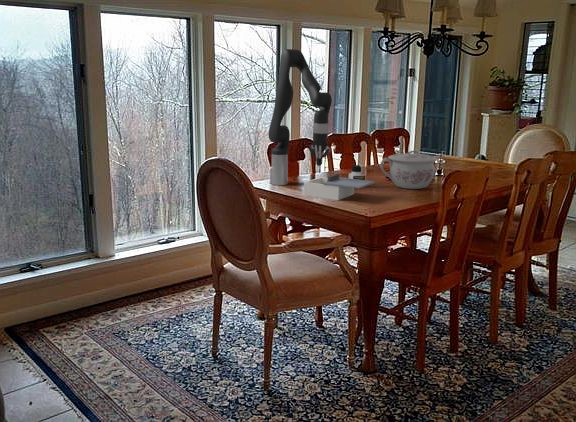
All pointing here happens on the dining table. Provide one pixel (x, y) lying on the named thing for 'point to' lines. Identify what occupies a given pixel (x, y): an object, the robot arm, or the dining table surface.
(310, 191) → the box
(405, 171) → the chamber pot
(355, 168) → the medicine bottle
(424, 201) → the dining table surface
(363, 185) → the lid
